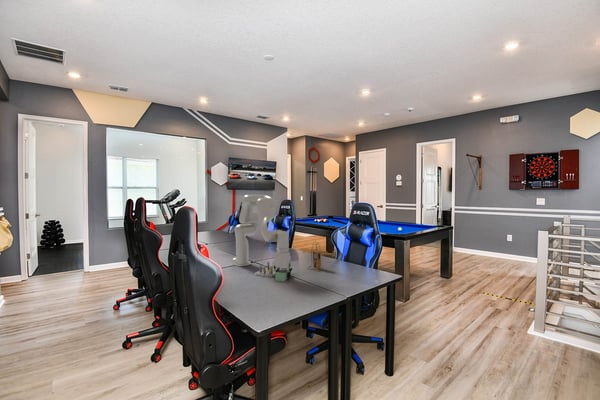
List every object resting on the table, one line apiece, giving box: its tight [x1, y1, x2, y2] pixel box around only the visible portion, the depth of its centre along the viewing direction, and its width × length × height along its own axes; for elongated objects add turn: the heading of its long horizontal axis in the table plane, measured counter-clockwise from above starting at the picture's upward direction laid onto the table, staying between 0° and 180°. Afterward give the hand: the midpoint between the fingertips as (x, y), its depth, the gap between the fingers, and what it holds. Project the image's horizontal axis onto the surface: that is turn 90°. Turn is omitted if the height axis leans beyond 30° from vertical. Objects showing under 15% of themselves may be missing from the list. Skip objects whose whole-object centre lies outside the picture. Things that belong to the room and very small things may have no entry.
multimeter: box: [309, 241, 324, 272], centre depth 211 cm, size 15×10×20 cm
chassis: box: [254, 261, 282, 278], centre depth 204 cm, size 18×14×6 cm
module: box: [275, 268, 289, 282], centre depth 190 cm, size 12×6×6 cm, turn 163°
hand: (283, 276), depth 190 cm, fingers open, 7 cm apart
